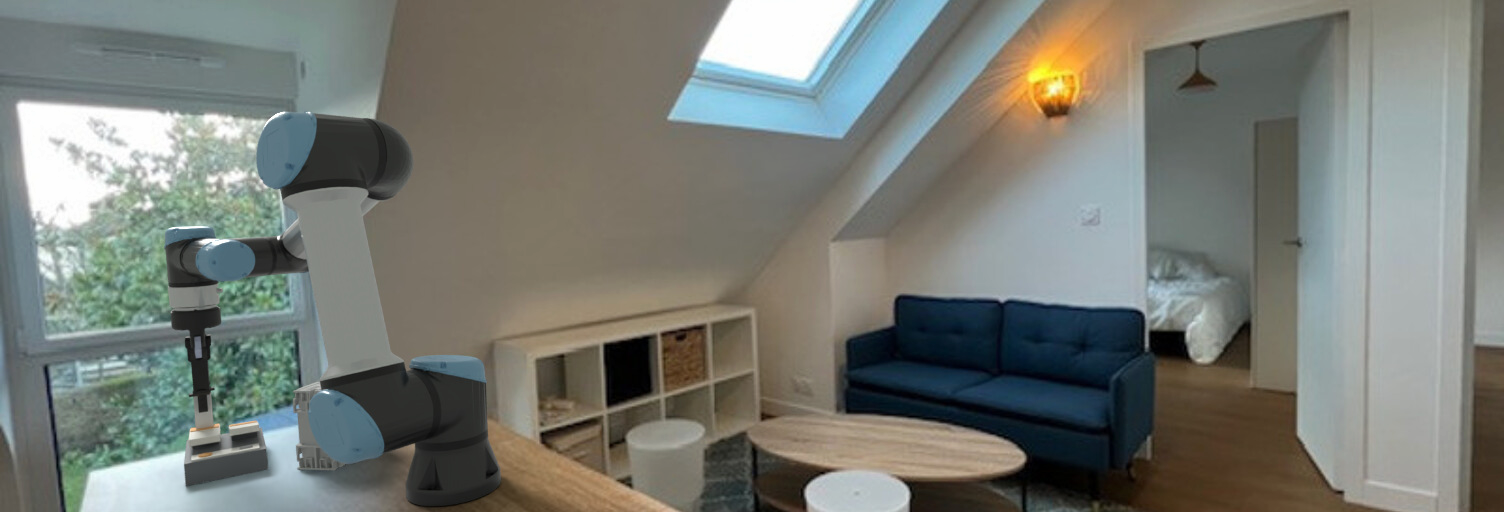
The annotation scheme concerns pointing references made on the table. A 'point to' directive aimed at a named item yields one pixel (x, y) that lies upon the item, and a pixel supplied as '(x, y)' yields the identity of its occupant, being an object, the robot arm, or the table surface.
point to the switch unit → (225, 457)
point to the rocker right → (243, 428)
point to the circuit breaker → (310, 434)
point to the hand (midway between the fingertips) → (204, 426)
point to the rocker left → (204, 435)
